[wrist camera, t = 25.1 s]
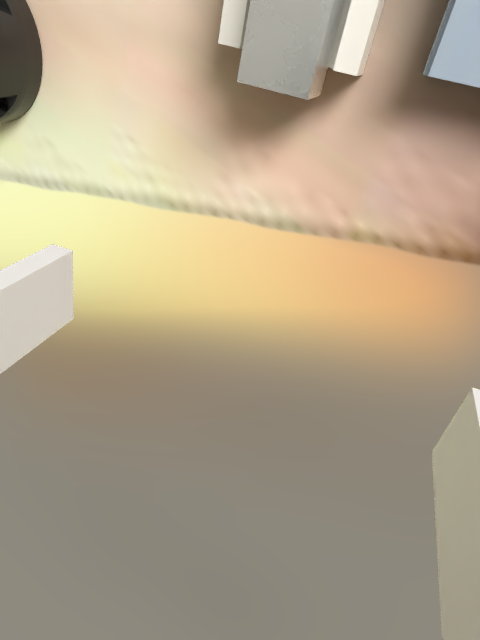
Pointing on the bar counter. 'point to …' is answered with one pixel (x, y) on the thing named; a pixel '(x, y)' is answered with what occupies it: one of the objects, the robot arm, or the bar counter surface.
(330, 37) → the grey long rectangular block
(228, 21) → the cradle
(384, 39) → the bar counter surface
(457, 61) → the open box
